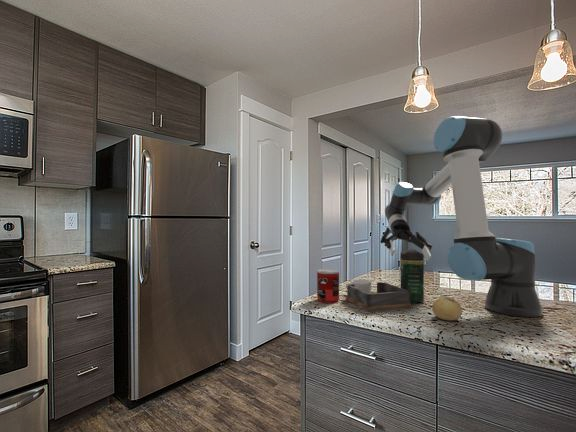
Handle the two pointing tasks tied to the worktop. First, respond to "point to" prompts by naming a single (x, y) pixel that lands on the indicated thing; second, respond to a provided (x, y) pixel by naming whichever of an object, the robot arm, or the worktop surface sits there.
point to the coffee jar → (413, 274)
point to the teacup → (361, 284)
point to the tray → (380, 297)
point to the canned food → (328, 285)
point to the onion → (447, 309)
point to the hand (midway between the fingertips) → (411, 255)
